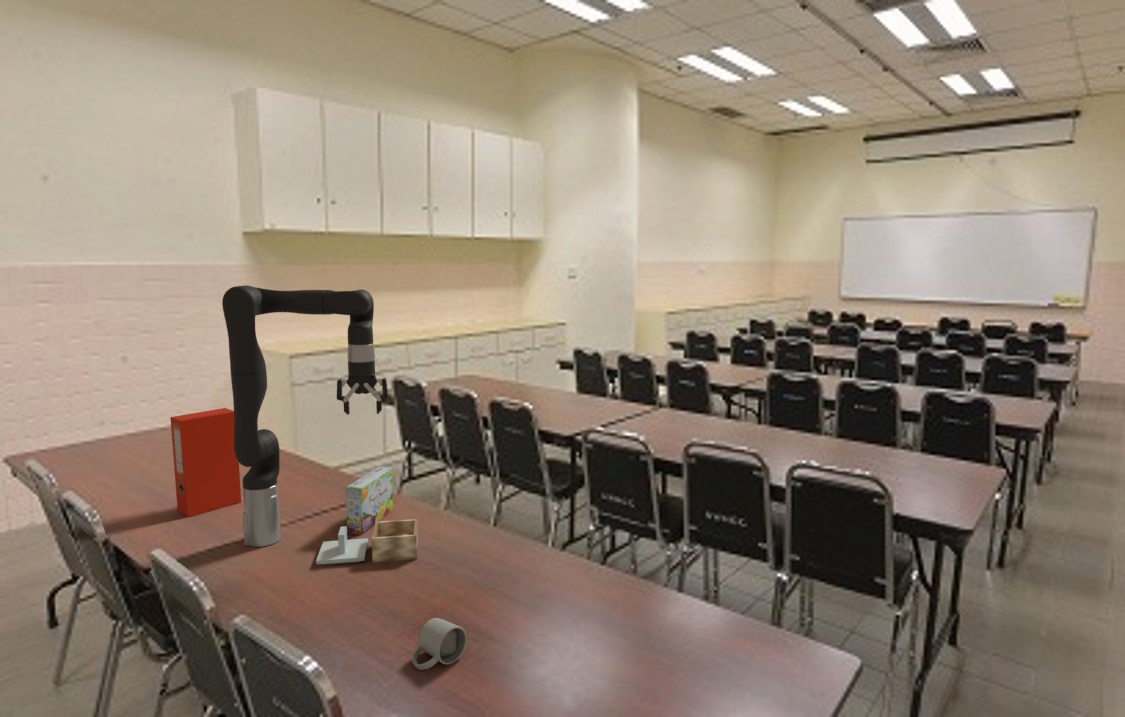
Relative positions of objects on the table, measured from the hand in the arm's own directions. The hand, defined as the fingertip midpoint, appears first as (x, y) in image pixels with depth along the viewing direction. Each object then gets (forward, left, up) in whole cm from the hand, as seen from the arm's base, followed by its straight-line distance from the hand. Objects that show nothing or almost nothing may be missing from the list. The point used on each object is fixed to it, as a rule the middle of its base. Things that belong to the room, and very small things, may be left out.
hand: (363, 413), depth 196 cm
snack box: (0, +12, -38) cm, 40 cm away
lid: (-6, -12, -38) cm, 41 cm away
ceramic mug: (+20, -66, -38) cm, 79 cm away
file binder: (-54, +33, -38) cm, 74 cm away
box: (+9, -12, -38) cm, 41 cm away
